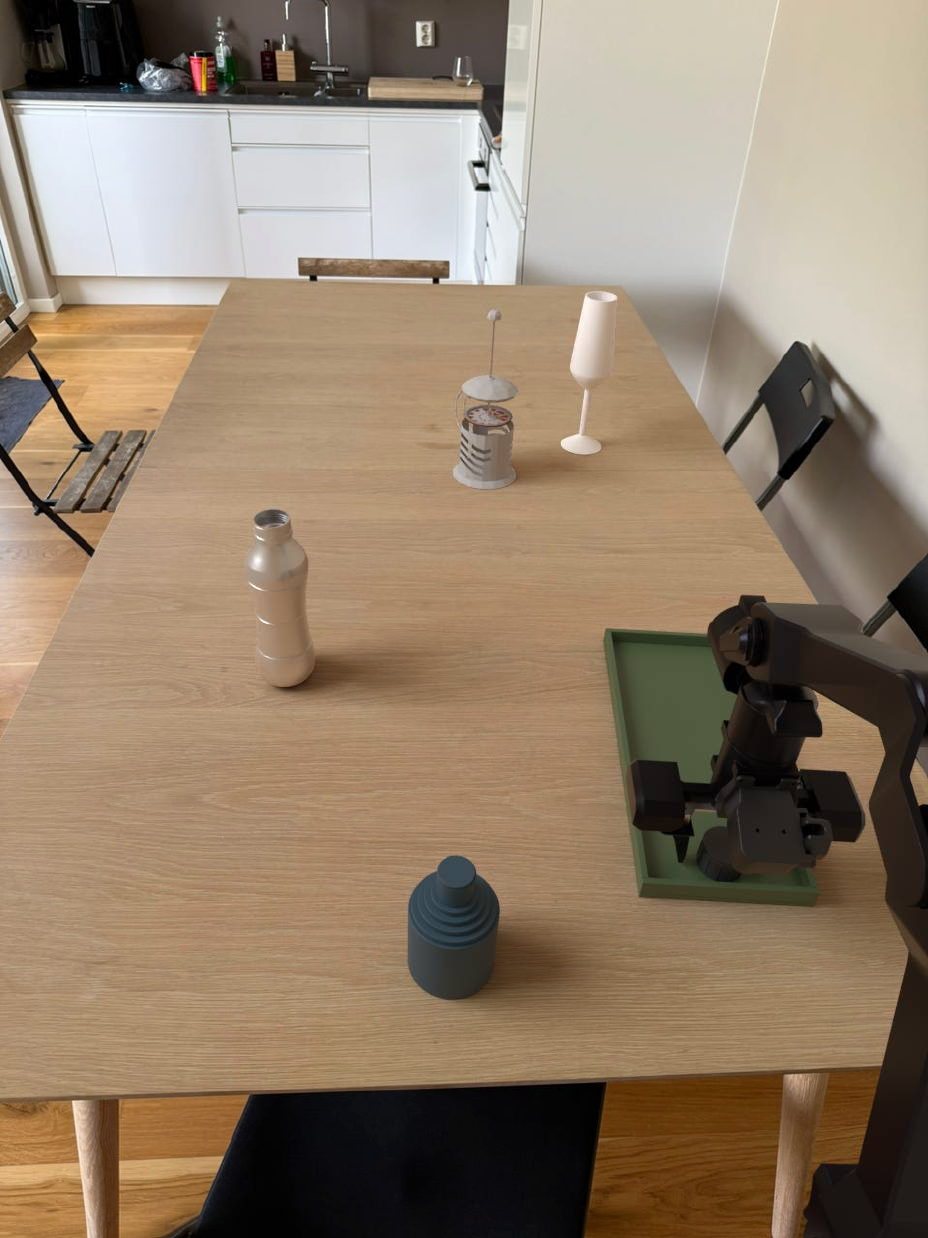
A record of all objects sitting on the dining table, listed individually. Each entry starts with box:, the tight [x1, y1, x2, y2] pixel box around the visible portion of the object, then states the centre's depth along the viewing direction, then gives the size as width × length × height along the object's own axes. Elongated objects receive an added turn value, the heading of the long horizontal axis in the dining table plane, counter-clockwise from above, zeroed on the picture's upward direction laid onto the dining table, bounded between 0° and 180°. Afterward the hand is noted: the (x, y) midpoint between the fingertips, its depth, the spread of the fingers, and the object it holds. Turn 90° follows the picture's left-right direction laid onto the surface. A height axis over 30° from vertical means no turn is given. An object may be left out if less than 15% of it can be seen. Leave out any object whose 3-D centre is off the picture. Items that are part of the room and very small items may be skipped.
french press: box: [452, 309, 519, 490], centre depth 129 cm, size 10×12×25 cm
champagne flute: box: [560, 290, 618, 456], centre depth 138 cm, size 7×7×24 cm
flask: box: [407, 854, 501, 1000], centre depth 68 cm, size 7×7×12 cm
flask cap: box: [697, 826, 742, 882], centre depth 79 cm, size 4×4×3 cm
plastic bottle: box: [243, 508, 317, 688], centre depth 92 cm, size 6×7×20 cm
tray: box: [602, 627, 821, 907], centre depth 91 cm, size 35×15×2 cm, turn 178°
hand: (720, 861), depth 80 cm, fingers open, 7 cm apart
